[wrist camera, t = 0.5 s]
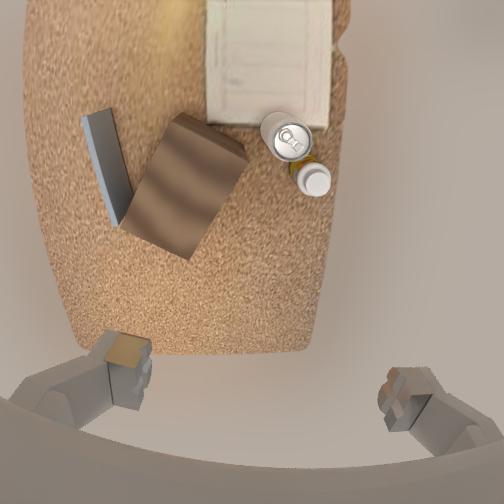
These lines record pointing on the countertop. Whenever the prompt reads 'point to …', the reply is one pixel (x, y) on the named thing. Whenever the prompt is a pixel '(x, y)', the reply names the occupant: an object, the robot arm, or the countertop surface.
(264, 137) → the can
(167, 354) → the countertop surface
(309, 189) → the supplement bottle
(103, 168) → the flap
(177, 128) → the crate
